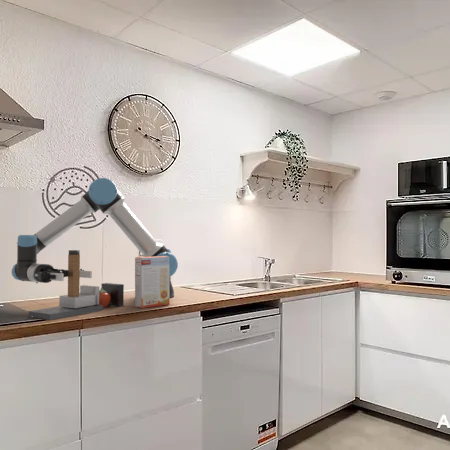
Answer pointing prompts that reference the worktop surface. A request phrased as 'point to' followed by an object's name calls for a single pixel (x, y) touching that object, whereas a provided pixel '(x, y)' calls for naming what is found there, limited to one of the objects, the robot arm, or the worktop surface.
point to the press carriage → (87, 293)
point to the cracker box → (151, 281)
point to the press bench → (61, 312)
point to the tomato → (104, 298)
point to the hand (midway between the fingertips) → (77, 275)
